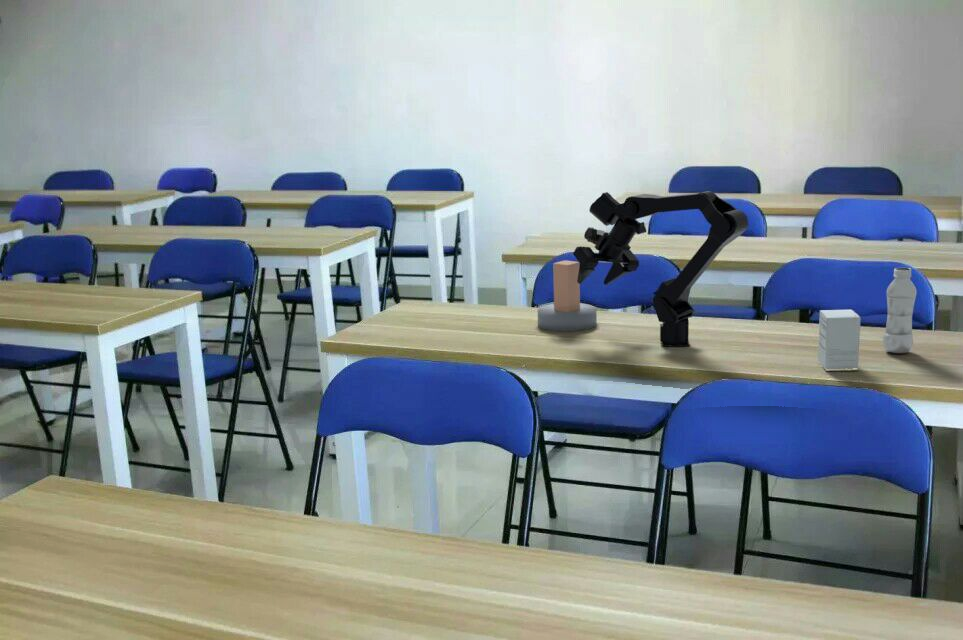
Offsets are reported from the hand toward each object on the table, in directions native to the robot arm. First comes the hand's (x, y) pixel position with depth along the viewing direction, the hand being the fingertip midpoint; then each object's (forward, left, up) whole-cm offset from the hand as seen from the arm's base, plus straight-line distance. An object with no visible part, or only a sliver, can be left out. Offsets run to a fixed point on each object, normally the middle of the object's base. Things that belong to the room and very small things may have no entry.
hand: (591, 283), depth 263 cm
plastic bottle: (-72, +21, -13) cm, 76 cm away
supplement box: (-56, +33, -13) cm, 66 cm away
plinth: (+7, -7, -13) cm, 16 cm away
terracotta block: (+7, -7, -9) cm, 13 cm away
